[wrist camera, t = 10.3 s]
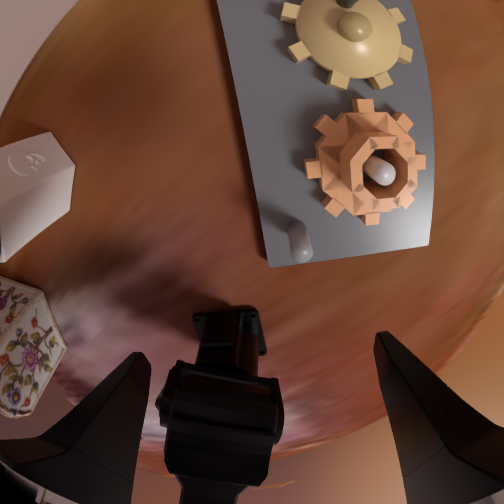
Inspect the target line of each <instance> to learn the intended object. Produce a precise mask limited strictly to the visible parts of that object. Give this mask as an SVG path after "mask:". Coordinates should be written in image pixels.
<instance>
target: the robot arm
mask: <svg viewBox="0 0 504 504" xmlns="http://www.w3.org/2000/svg"><path fill="white" fill-rule="evenodd" d="M252 314H254V315H252ZM196 318H197V319H196ZM192 322H193V324H194V326H195V329H196V331H197V333H198V335H199V338H200V340H201V341H200V345H199V349H198V353H197V357H196V361H195V365H194V364H190V363H186V362H184V361H181V360H177V362H176V365H175V366H173V368H172V369H170V370H169V374H168V377H167V380H166V383H165V385H164V387H163V389H162V390H161V392H160V394H159V395H158V397H157V399H156V402H155V406H156V408H157V409H158V411H159V417H160V426H162V427H166V428H167V433H166V439H165V446H164V455H165V458H164V461H165V464H166V467H167V469H168V471H169V473H170V474H174V475H175V476H176V478H177V480H178V481H179V483H180V485H181V487H182V488H181V495H180V501H179V504H236V502H237V498H238V495H239V494H240V493H242V492H243V491H244V490H245V489H246V488H247V487H249V486H256V487H258V486H260V485H261V483H262V482H263V481H264V480H265V478H266V477H267V475H268V467H269V461H270V455H271V451H272V447H273V445H276V444H277V443H278V442H279V440H280V438H281V435H282V431H283V426H284V407H283V402H282V397H281V392H280V387H279V382H278V378H265V377H258V356H263V355H266V354H267V348H266V344H265V339H264V335H263V330H262V326H261V322H260V317H259V313H258V311H257V310H256V309H245V310H234V311H223V312H211V313H198V314H194V315H193V316H192ZM373 350H374V356H375V362H376V367H377V372H378V378H379V384H380V388H381V392H382V396H383V399H384V403H385V406H386V410H387V413H388V417H389V421H390V424H391V428H392V432H393V436H394V440H395V444H396V449H397V453H398V457H399V462H400V467H401V472H402V476H403V482H404V488H405V493H406V499H407V504H504V427H500V426H498V425H496V424H494V423H493V422H491V421H490V420H489V419H487V418H486V417H485V416H483V415H482V414H481V413H479V412H478V411H477V410H475V409H474V408H473V407H471V406H470V405H469V404H468V403H466V402H465V401H464V400H462V399H461V398H460V397H459V396H458V395H457V394H456V393H455V392H454V391H453V390H452V389H451V388H450V387H447V385H446V384H445V383H444V382H443V381H442V380H441V379H440V378H439V377H438V376H437V375H436V374H434V373H433V372H432V371H431V370H430V369H429V368H428V367H427V366H426V365H425V364H424V363H423V362H422V361H420V360H419V359H418V358H417V357H416V356H415V355H414V354H413V353H412V352H411V351H409V350H408V349H407V348H406V347H405V346H404V345H403V344H402V343H401V342H400V341H398V340H397V339H396V338H395V337H394V336H393V335H392V334H391V333H389V332H388V331H381V332H377V334H376V337H375V342H374V347H373ZM150 378H151V364H150V363H149V361H148V360H147V358H146V357H145V355H144V354H143V353H142V352H133V353H131V354H130V355H129V356H128V357H127V358H126V359H125V360H124V361H123V362H122V363H121V364H120V365H119V366H118V367H117V368H115V369H114V370H113V371H112V372H111V373H110V374H109V375H108V376H107V377H106V378H105V379H104V380H103V381H102V382H101V383H100V384H99V385H97V386H96V387H95V388H94V389H93V390H92V391H91V392H90V393H89V394H88V395H87V396H86V397H85V398H84V399H83V400H82V401H81V402H80V403H79V404H77V405H76V406H75V407H74V408H73V409H72V410H71V411H70V412H69V413H68V414H67V415H66V416H65V417H63V418H62V419H61V420H60V421H58V422H57V423H56V424H55V425H53V426H52V427H51V428H50V429H48V430H47V431H46V432H44V433H43V434H42V435H40V436H38V437H34V438H26V439H9V440H0V460H1V461H2V462H3V463H5V465H4V464H3V463H1V462H0V504H131V497H132V490H133V481H134V474H135V468H136V462H137V456H138V450H139V444H140V439H141V433H142V428H143V423H144V418H145V413H146V408H147V403H148V396H149V387H150Z"/></svg>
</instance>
